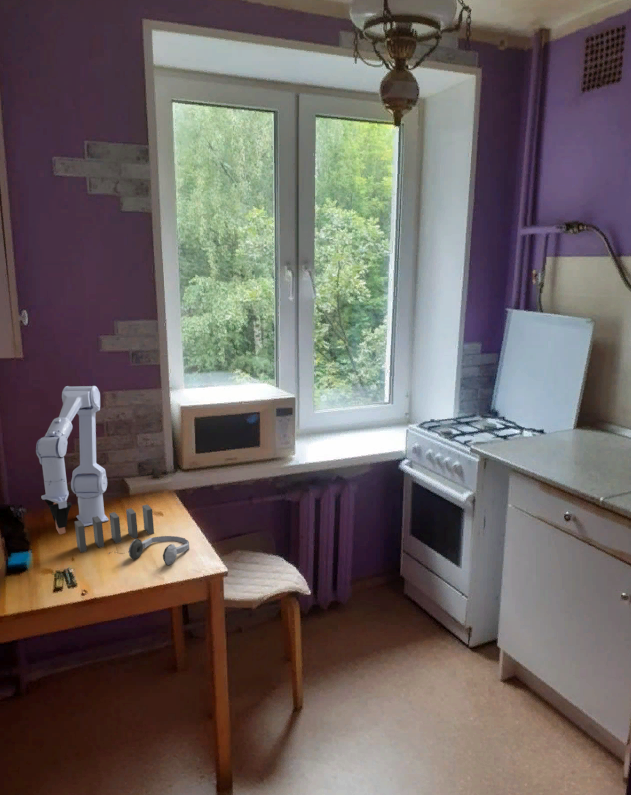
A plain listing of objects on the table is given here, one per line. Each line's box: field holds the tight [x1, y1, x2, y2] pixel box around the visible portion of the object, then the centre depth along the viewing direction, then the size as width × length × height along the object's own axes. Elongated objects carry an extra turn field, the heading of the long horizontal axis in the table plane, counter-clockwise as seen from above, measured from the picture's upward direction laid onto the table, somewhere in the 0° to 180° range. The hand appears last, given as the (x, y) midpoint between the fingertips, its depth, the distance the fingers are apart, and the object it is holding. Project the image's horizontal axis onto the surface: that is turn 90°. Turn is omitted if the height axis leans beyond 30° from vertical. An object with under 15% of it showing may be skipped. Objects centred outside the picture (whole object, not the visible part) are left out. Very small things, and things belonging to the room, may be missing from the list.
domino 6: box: [141, 504, 155, 535], centre depth 186 cm, size 4×2×8 cm, turn 34°
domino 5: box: [125, 507, 139, 539], centre depth 183 cm, size 4×2×8 cm, turn 34°
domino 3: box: [92, 516, 105, 549], centre depth 178 cm, size 4×2×8 cm, turn 34°
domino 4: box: [109, 511, 122, 544], centre depth 181 cm, size 4×2×8 cm, turn 34°
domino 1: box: [53, 502, 66, 535], centre depth 171 cm, size 4×2×8 cm, turn 34°
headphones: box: [107, 535, 190, 566], centre depth 172 cm, size 17×6×20 cm
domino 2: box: [74, 520, 88, 553], centre depth 175 cm, size 4×2×8 cm, turn 34°
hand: (60, 523), depth 171 cm, fingers closed on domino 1, 4 cm apart
